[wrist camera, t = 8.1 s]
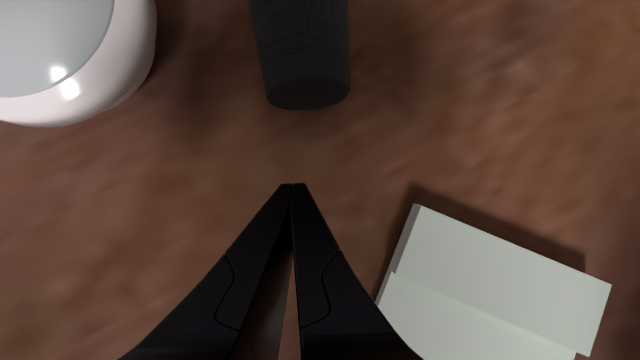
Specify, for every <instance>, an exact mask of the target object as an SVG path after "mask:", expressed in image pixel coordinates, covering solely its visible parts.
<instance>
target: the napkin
mask: <svg viewBox="0 0 640 360" xmlns="http://www.w3.org/2000/svg"><path fill="white" fill-rule="evenodd" d="M611 286H612V285H611V284H609V283H606V282H604V281H602V280H599V279H597V278H594V277H592V276H590V275H587V274H585V273H582V272H580V271H578V270H575V269H573V268H570V267H568V266H566V265H563V264H561V263H558V262H556V261H554V260H551V259H549V258H546V257H544V256H542V255H539V254H537V253H534V252H532V251H530V250H527V249H525V248H522V247H520V246H517V245H515V244H513V243H510V242H508V241H505V240H503V239H501V238H498V237H496V236H493V235H491V234H489V233H486V232H484V231H481V230H479V229H477V228H474V227H472V226H469V225H467V224H465V223H462V222H460V221H457V220H455V219H453V218H450V217H448V216H445V215H443V214H441V213H438V212H436V211H433V210H431V209H429V208H426V207H424V206H421V205H419V204H413V205H412V208H411V211H410V213H409V216H408V218H407V221H406V223H405V226H404V229H403V231H402V234H401V236H400V239H399V241H398V244H397V247H396V249H395V252H394V254H393V257H392V260H391V262H390V265H389V267H388V270H387V272H386V275H385V278H384V280H383V283H382V285H381V288H380V290H379V293H378V296H377V298H376V301H375V304H376V305H377V306H378V308H379V309H380V310H381V312H382V313H383V315H384V316H385V317H386V319H387V320H388V321H389V323H390V324H391V326H392V327H393V328H394V329H395V331H396V332H397V333H398V335H399V336H400V337H401V338H402V339H403V340H404V341H405V343H406V344H407V345H408V346H409V347H410V348H411V349H412V350H413V351H415V352H416V353H417V354H418V355H419V356H421V357H422V358H423V359H424V360H574V358H575V355H576V352H578V353H580V354H582V355H585V356H587V357H589V356H590V353H591V350H592V347H593V343H594V340H595V337H596V334H597V331H598V328H599V324H600V321H601V318H602V315H603V312H604V309H605V305H606V302H607V299H608V296H609V293H610V289H611Z"/></svg>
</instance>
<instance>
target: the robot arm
mask: <svg viewBox="0 0 640 360" xmlns="http://www.w3.org/2000/svg"><path fill="white" fill-rule="evenodd" d="M293 258H294V271H295V283H296V296H297V308H298V321H299V330H300V332H299V333H300V347H301V360H424V359H423V358H422V357H421V356H419V355H418V354H417V353H416V352H415V351H413V350H412V349H411V348H410V347H409V346H408V345H407V344H406V343H405V341H404V340H403V339H402V338H401V337H400V336H399V335H398V333H397V332H396V331H395V329H394V328H393V327H392V326H391V324H390V323H389V321H388V320H387V319H386V317H385V316H384V315H383V313H382V312H381V310H380V309H379V308H378V306H377V305H376V304H375V302H374V301H373V299H372V298H371V297H370V295H369V294H368V293H367V291H366V290H365V289H364V287H363V286H362V284H361V283H360V281H359V280H358V278H357V277H356V275H355V274H354V272H353V270H352V269H351V267H350V265H349V264H348V262H347V260H346V258H345V257H344V255H343V253H342V251H341V250H340V248H339V246H338V244H337V242H336V240H335V238H334V236H333V235H332V233H331V231H330V229H329V227H328V225H327V223H326V221H325V220H324V218H323V216H322V214H321V212H320V210H319V208H318V207H317V205H316V203H315V201H314V199H313V197H312V195H311V194H310V192H309V190H308V188H307V186H306V184H305V183H295V184H281V185H280V186H279V187H278V188H277V190H276V191H275V192H274V193H273V195H272V196H271V197H270V198H269V199H268V201H267V202H266V203H265V204H264V206H263V207H262V208H261V209H260V211H259V212H258V213H257V214H256V215H255V217H254V218H253V219H252V220H251V222H250V223H249V224H248V225H247V226H246V228H245V229H244V230H243V231H242V233H241V234H240V235H239V236H238V237H237V239H236V240H235V241H234V242H233V244H232V245H231V246H230V247H229V248H228V250H227V251H226V252H225V255H223V256H222V257H221V258H220V259H219V261H218V262H217V263H216V264H215V265H214V266H213V268H212V269H211V270H210V271H209V272H208V273H207V275H206V276H205V277H204V278H203V279H202V280H201V281H200V282H199V283H198V284H197V286H196V287H195V288H194V289H193V290H192V291H191V292H190V293H189V294H188V295H187V296H186V297H185V298H184V299H183V300H182V301H181V302H180V303H179V304H178V305H177V306H176V307H175V308H174V309H173V310H172V311H171V312H170V313H169V314H168V315H167V316H166V317H165V318H164V319H163V320H162V321H161V322H160V323H159V324H158V325H157V326H156V327H155V328H154V329H153V330H152V331H151V332H150V333H149V334H148V335H147V336H146V337H145V338H144V339H143V340H142V341H141V342H140V343H139V344H138V345H136V346H135V347H134V348H133V349H132V350H130V351H129V352H128V353H126V354H125V355H124V356H122V357H121V358H119V359H118V360H278V354H279V347H280V341H281V334H282V327H283V320H284V314H285V307H286V300H287V294H288V287H289V280H290V273H291V267H292V260H293Z"/></svg>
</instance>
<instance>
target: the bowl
mask: <svg viewBox="0 0 640 360" xmlns="http://www.w3.org/2000/svg"><path fill="white" fill-rule="evenodd" d="M156 30H157V10H156V5H155V0H0V120H1V121H5V122H9V123H13V124H17V125H20V126H27V127H33V128H54V127H63V126H67V125H72V124H76V123H79V122H81V121H84V120H87V119H90V118H92V117H94V116H95V115H97V114H99V113H102V112H105V111H107V110H110V109H112V108H114V107H116V106H118V105H120V104H121V103H123V102H124V101H126V100H127V99H128V98H129V97H130V96H132V95H133V94H134V93H135V92H136V91H137V89H138V88H139V87H140V86H141V85H142V83H143V82H144V80H145V79H146V77H147V75H148V73H149V71H150V69H151V66H152V63H153V59H154V55H155V38H156Z"/></svg>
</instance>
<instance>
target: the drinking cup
mask: <svg viewBox="0 0 640 360" xmlns="http://www.w3.org/2000/svg"><path fill="white" fill-rule="evenodd" d="M248 1H249V6H250V12H251V17H252V22H253V27H254V33H255V38H256V43H257V48H258V53H259V59H260V64H261V69H262V74H263V79H264V85H265V90H266V95H267V99H268V101H269V102H270V103H271V104H272V105H274V106H276V107H279V108H283V109H289V110H311V109H318V108H323V107H327V106H330V105H333V104H335V103H338V102H340V101H341V100H343V99H344V98H346V97H347V95H348V94H349V92H350V69H349V29H348V0H248Z"/></svg>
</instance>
